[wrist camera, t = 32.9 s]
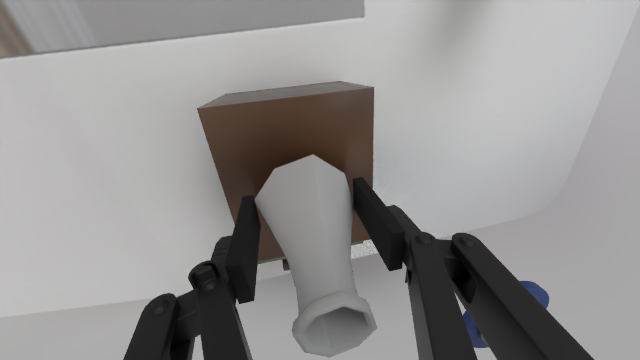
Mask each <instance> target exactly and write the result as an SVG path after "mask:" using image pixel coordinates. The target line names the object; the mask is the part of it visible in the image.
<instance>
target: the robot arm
mask: <svg viewBox="0 0 640 360" xmlns="http://www.w3.org/2000/svg"><path fill="white" fill-rule="evenodd" d="M353 201H354V210H355V211H356V213H357V215H358V217H359V218H360V220H361V222H362V224H363V226H364V227H365V229H366V231H367V233H368V234H369V236H370V238H371V240H372V242H373V243H374V245H375V247H376V249H377V250H378V252H379V254H380V256H381V257H382V259H383V261H384V263H385V265H386V266H387V268H388V270H389V271H393V270H397V269H402V262H404V264H405V265H406V267H407V270H406V280H405V283H407V282H408V289H409V295H410V302H411V308H412V315H413V322H414V329H415V335H416V342H417V348H418V355H419V360H477V357H476V354H475V351H474V348H473V345H472V342H471V339H470V336H469V334H468V331H467V328H466V325H465V322H464V319H463V316H462V313H461V310H460V307H459V304H458V301H457V299H456V296H455V293H456V295H457V296H458V298H459V300H460V301H461V303H462V304H463V306H464V308H465V309H466V311H467V312H468V314H469V316H470V317H471V319H472V320H473V322H474V323H475V325H476V327H477V328H478V334H479V336H480V337H481V338H482V340H483V341H484V342H485V343H486V344H487V345H488V346H489V347H490V349H491V350H492V352H493V353H494V355H495V357H496V358H497V360H594V359H593V358H592V357H591V356H590V355H589V354H588V353H587V352H586V351H585V350H584V349H583V347H582V346H580V344H579V343H578V342H577V341H576V340H575V339H574V338H573V337H572V336H571V335H570V334H569V333H568V332H567V331H566V330H565V329H564V328H563V327H562V326H561V325H560V324H559V323H558V322H557V320H555V318H554V317H553V316H552V315H551V314H550V313H549V312H548V311H547V310H546V309H545V308H544V307H543V306H542V305H541V304H540V303H539V302H538V301H537V300H536V298H535V297H534V296H533V295H532V294H531V293H530V292H529V291H528V290H527V289H526V288H525V287H524V286H523V285H522V284H521V283H520V282H519V281H518V280H517V279H516V278H515V277H514V276H513V275H512V273H511V272H510V271H509V270H508V269H507V268H506V267H505V266H504V265H502V263H501V262H500V261H499V260H498V259H497V258H496V257H495V256H494V255H493V254H492V253H491V252H490V251H489V249H487V247H486V246H485V245H484V244H483V243H482V242H481V241H480V240H479V239H477V238H476V237H474V236H472V235H470V234H467V233H456V234H454V235H453V236H452V240H439V239H435V237H434V236H432V235H431V234H429V233H426V232H421V231H420V229H419V228H418V227H417V226H416V225H415V224H414V223H413V222H412V221H411V219H410V218H409V217H408V216H407V215H405V213H404V212H403V211H402V209H400V208H399V207H397V206H395V205H392V206H387V207H386V206H385V204H384V203H383V202H382V201H381V199H380V198H379V197H378V196H377V194H376V193H375V192H374V191H373V190H372V188H371V187H370V186H369V185H368V183H367V182H366V181H365V180H364V178H363V177H359V178H353ZM260 230H261V223H260V220H259V216H258V212H257V208H256V204H255V201H254V197H253V195H250V196H244V197H242V200H241V204H240V208H239V212H238V216H237V220H236V224H235V228H234V232H233V235H232V236H226V237H221V239H220V240H219V241H218V242H217V243H216V245H215V248H214V252H213V254H212V257H211V260H210V261H205V262H202V263H200V264H198V265H197V266H195V267H194V268H193V269H192V270H191V272H190V273H189V277H188V279H189V281H190V283H191V285H192V287H193V290H192V291H190V292H188V293H186V294H184V295H181V296H179V297H177V298H176V297H175V296H174V294H170V293H167V294H163V295H160V296H158V297H156V298H155V299H153V300H152V301H150V303H149V304H148V305H147V306H146V307H145V308H144V310H143V312H142V314H141V317H140V319H139V321H138V324H137V326H136V329H135V332H134V334H133V337H132V339H131V342H130V344H129V347H128V349H127V352H126V354H125V357H124V359H123V360H192V354H193V348H194V342H195V337H196V336H198V335H200V334H201V341H202V349H203V355H204V360H253V359H252V356H251V353H250V349H249V346H248V343H247V340H246V337H245V334H244V330H243V327H242V324H241V321H240V318H239V315H238V312H237V309H236V306H235V305H236V298H237V299H238V302H239V304H241V303H246V302H250V301H254V295H255V285H256V274H257V263H258V252H259V241H260ZM454 292H455V293H454Z"/></svg>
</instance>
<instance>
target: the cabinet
mask: <svg viewBox="0 0 640 360" xmlns="http://www.w3.org/2000/svg"><path fill="white" fill-rule="evenodd" d="M197 110H198V113H199V117H200V120H201V123H202V126H203V129H204V132H205V135H206V138H207V141H208V144H209V147H210V150H211V153H212V156H213V159H214V162H215V165H216V169H217V172H218V175H219V178H220V181H221V184H222V187H223V190H224V193H225V196H226V199H227V202H228V205H229V208H230V211H231V214H232V218H233V221H234V224H236V220H237V216H238V212H239V208H240V204H241V200H242V197H244V196H250V195H253V197H254V200H255V198H256V197H257V195H258V193H259V192H260V190H261V189H262V187H263V186H264V184H265V183H266V181H267V179H268V178H269V176H270V175H271V173H272V172H273V170H274V169H275V168H278V167H281V166H283V165H286V164H289V163H291V162H294V161H297V160H299V159H302V158H305V157H307V156H310V155H315V156H317V157H318V158H320V159H322V160H323V161H325V162H326V163H328V164H330V165H331V166H333V167H335V168H336V169H338V170H340V171H341V172H343V173H345V176H346V180H347V183H348V186H349V189H350V193H351V196H352V199H353V178H359V177H363V178H364V180H365V181H366V182H367V183H368V185H369V186H370V187H371V188H372V187H373V117H374V87H369V86H363V85H358V84H353V83H348V82H342V81H337V82H329V83H320V84H311V85H302V86H293V87H285V88H276V89H267V90H258V91H249V92H241V93H232V94H225V95H223V96H221V97H219V98H217V99H215V100H213V101H211V102H209V103H207V104H205V105H203V106H201V107H199V108H197ZM353 203H354V201H353ZM255 204H256V203H255ZM256 208H257V212H258V216H259V220H260V223H261V230H260V241H259V252H258V262H259V261H264V260H269V259H274V258H279V257H284V256H285V254H284V253H283V251H282V249H281V247H280V245H279V243H278V242H277V240H276V238H275V237H274V235H273V233H272V232H271V230H270V228H269V226H268V224H267V223H266V221H265V219H264V217H263V215H262V214H261V212H260V210H259V208H258V206H257V205H256ZM369 239H371V238H370V236H369V234H368V233H367V231H366V229H365V227H364V226H363V224H362V222H361V220H360V218H359V217H358V215H357V213H356V211H355V210H354V211H353V220H352V230H351V243H354V242H359V241H364V240H369Z"/></svg>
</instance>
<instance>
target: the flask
mask: <svg viewBox="0 0 640 360" xmlns="http://www.w3.org/2000/svg"><path fill="white" fill-rule="evenodd" d="M254 201H255V203H256V205H257V206H258V208H259V210H260V212H261V214H262V215H263V217H264V219H265V221H266V223H267V224H268V226H269V228H270V230H271V232H272V233H273V235H274V237H275V238H276V240H277V242H278V243H279V245H280V247H281V249H282V251H283V253H284V254H285V256H286V258H287V261H288V264H289V267H290V270H291V273H292V276H293V280H294V283H295V286H296V291H297V300H298V309H299V315H298V317H297V319H296V320H295V321H294V323H293V328H292V332H293V336H294V338H295V339H296V341H297V342H298V344H299V345H300V347H301V348H302V349H303V351H304V352H306V353H311V354H317V355H321V356H326V357H332V356H334V355H337V354H339V353H342V352H345V351H347V350H350V349H352V348H355V347H357V346H359V345H360V344H361V343H362V342H363V341H364V340H365V339H366V338H367V337H368V336H369V335H370V334H371V333H372V332H373V331H374V330H376V328H377V326H376V323H375V320H374V317H373V314H372V312H371V309H370V306H369V304H368V302H367V301H366V300H365V299H364V298H361V297H359V296H358V294H357V290H356V288H355V284H354V278H353V271H352V265H351V259H350V254H351V230H352V220H353V211H354V203H353V199H352V196H351V193H350V189H349V186H348V183H347V180H346V176H345V173H343V172H341V171H340V170H338V169H336V168H335V167H333V166H331V165H330V164H328V163H326V162H325V161H323V160H322V159H320V158H318V157H317V156H315V155H310V156H307V157H305V158H302V159H299V160H297V161H294V162H291V163H289V164H286V165H283V166H281V167H278V168H275V169H274V170H273V172H272V173H271V175H270V176H269V178H268V179H267V181H266V183H265V184H264V186H263V187H262V189H261V190H260V192H259V193H258V195H257V197H256V198H255V200H254Z"/></svg>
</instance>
